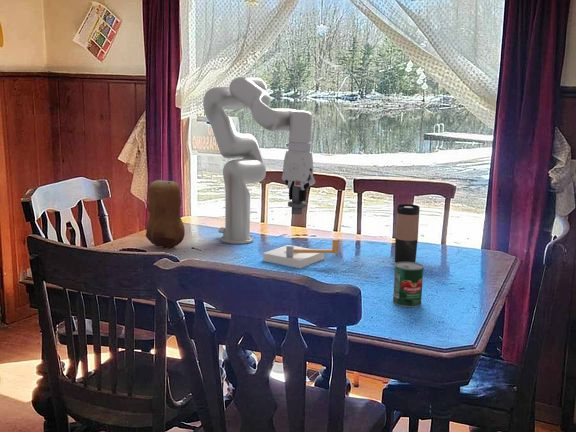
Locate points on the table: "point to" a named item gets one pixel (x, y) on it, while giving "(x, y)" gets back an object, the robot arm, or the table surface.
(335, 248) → the orange crank handle
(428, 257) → the table surface
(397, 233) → the travel mug
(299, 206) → the plug
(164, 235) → the butternut squash
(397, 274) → the canned tomato
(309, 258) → the white square base
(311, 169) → the robot arm
